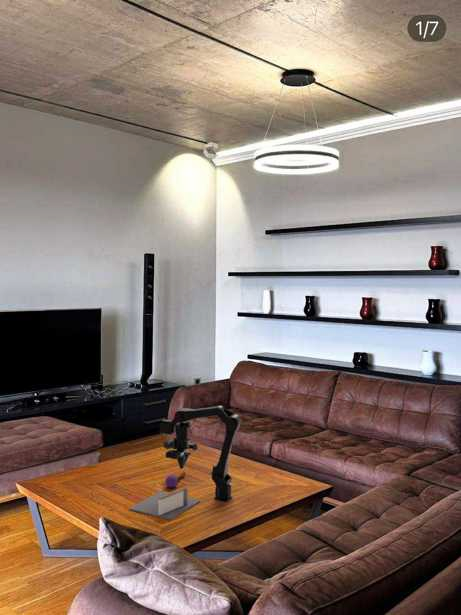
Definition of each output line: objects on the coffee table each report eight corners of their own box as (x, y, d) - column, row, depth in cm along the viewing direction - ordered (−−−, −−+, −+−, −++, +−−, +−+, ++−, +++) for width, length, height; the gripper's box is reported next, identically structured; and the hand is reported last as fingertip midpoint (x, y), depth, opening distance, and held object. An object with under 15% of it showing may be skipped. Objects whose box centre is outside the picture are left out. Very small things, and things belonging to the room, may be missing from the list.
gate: (181, 504, 264) (181, 488, 264) (183, 505, 263) (183, 489, 263) (158, 514, 253) (158, 497, 253) (160, 515, 252) (160, 498, 252)
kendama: (189, 469, 305) (176, 478, 285) (186, 480, 305) (173, 490, 285) (178, 465, 306) (164, 475, 287) (176, 477, 306) (162, 487, 287)
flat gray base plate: (200, 501, 271) (200, 484, 270) (170, 520, 250) (170, 501, 249) (160, 492, 281) (161, 475, 281) (128, 509, 260) (128, 491, 260)
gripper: (178, 429, 291) (178, 460, 292) (156, 437, 275) (155, 471, 276) (198, 432, 286) (197, 464, 287) (176, 441, 269) (175, 475, 270)
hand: (181, 468), depth 280 cm, fingers closed
